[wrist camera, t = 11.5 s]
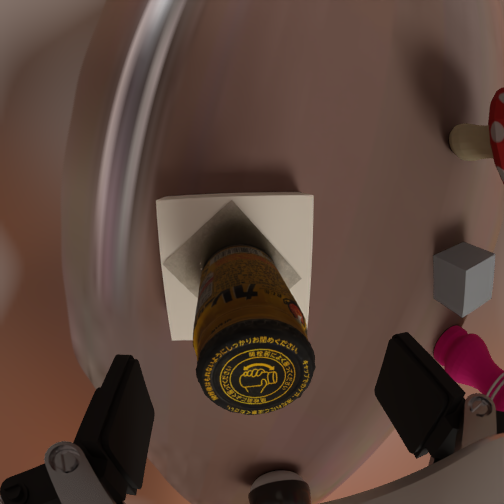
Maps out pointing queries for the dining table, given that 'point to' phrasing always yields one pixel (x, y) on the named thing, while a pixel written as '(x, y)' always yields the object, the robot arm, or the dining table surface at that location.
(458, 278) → the slate cube
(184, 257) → the condiment
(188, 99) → the dining table surface
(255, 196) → the cream block
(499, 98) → the decorative mushroom
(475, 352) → the pepper mill
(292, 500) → the dark grey domed cylinder
